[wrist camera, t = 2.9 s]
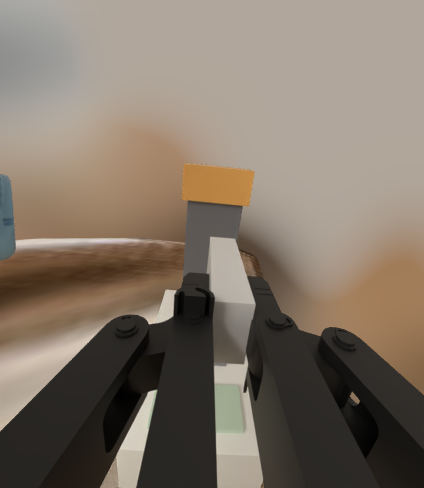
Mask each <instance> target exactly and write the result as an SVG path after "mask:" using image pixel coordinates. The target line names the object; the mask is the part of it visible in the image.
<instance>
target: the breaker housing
mask: <svg viewBox="0 0 424 488" xmlns="http://www.w3.org/2000/svg"><path fill="white" fill-rule="evenodd" d="M176 291H177V290H166V291H165V294H164V298H163V301H162V304H161V307H160V310H159V314H158V317H157V320H156V323H160V322H164V321H166V320H168V319H170V318H171V317H173V312H174V294H175V293H176ZM156 323H155V324H156ZM247 367H248V361H247V356H246V357H245V363H244V364H227V363H214V384H215V419H216V454H217V488H261V485H262V482H263V475H262V469H261V463H260V457H259V451H258V445H257V439H256V433H255V427H254V421H253V415H252V409H251V403H250V397H249V391H248V387H247V392H246V393H243V389H244V382H245V377H246V372H247ZM156 393H157V390H154V391H150V392H148V394H147V397H146V399H145V401H144V403H143V405H142V406H141V408H140V410H139V412H138V414H137V416H136V418H135V420H134V422H133V424H132V426H131V428H130V430H129V432H128V434H127V436H126V438H125V440H124V441H123V443H122V445H121V447H120V449H119V451H118V453H117V455H116V458H117V470H118V482H119V488H136V486H137V481H138V477H139V472H140V467H141V463H142V458H143V453H144V449H145V444H146V440H147V435H148V430H149V426H150V421H151V417H152V412H153V407H154V403H155V398H156Z"/></svg>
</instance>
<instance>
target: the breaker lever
mask: <svg viewBox="0 0 424 488" xmlns="http://www.w3.org/2000/svg"><path fill="white" fill-rule="evenodd" d="M253 178H254V171H252V170H248V169H239V168H230V167H221V166H211V165H202V164H192V163H185V164H184V171H183V189H182V200H188V207H187V222H186V238H185V253H184V269H183V278H184V276H185V275H187V274H188V273H189V272H192V273H205V274H207V265H208V255H209V245H210V237H219V238H231V239H235V240H236V244H237V239H238V233H239V226H240V220H241V213H242V207H243V206H249V203H250V197H251V190H252V184H253Z"/></svg>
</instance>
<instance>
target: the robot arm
mask: <svg viewBox="0 0 424 488" xmlns="http://www.w3.org/2000/svg"><path fill="white" fill-rule="evenodd" d="M15 249H16V243H15V229H14V216H13V202H12V191H11V183H10V179H9V177H7V176H6V175H3V174H0V260H5V259H8V258H10V257H11V256H12V255H13V254H14V252H15ZM246 356H247V361H248V367H247V372H246V377H245V382H244V389H243V393H246V392H247V387H248V391H249V397H250V403H251V409H252V415H253V421H254V427H255V433H256V439H257V445H258V451H259V457H260V463H261V469H262V475H263V481H264V487H265V488H424V395H423V394H422V393H421V392H419V391H418V390H417V389H416V388H415V387H414V386H413V385H412V384H410V383H409V382H408V381H407V380H406V379H405V378H404V377H403V376H401V375H400V374H399V373H398V372H397V371H396V370H395V369H394V368H393V367H391V366H390V365H389V364H388V363H387V362H386V361H385V360H384V359H382V358H381V357H380V356H379V355H378V354H377V353H376V352H375V351H374V350H372V349H371V348H370V347H369V346H368V345H367V344H366V343H364V342H363V341H362V340H361V339H360V338H358V337H357V336H356V335H354V334H353V333H351V332H349V331H346V330H344V329H341V328H336V327H329V328H326V329H324V331H323V332H322V335H321V336H317V335H314V334H310V333H307V332H304V331H301V330H299V329H298V327H297V325H296V324H295V322H294V321H293V320H292V319H291V318H290V317H288V316H287V315H285V314H283V313H281V311H280V308H279V307H278V304H277V302H276V300H275V298H274V296H273V293H272V291H271V289H270V287H269V285H268V283H267V282H266V281H265V280H264V279H263V278H261V277H253V276H247V275H246V272H245V269H244V266H243V263H242V259H241V256H240V253H239V250H238V247H237V244H236V240H235V239H231V238H219V237H210V245H209V255H208V265H207V274H205V273H192V272H189V273H188V274H187V275H185V276H184V278H183V282H182V287H181V288H180V289H179V290H177V291H176V293H175V294H174V312H173V317H171V318H170V319H168V320H166V321H164V322H160V323H156V324H148V322H147V320H146V319H145V318H143V317H141V316H138V315H123V316H120V317H117V318H115V319H113V320H111V321H110V322H109V323H107V324H106V325H105V326H104V327H103V328H102V329H101V330H100V331H99V332H98V333H97V334H96V335H95V336H94V337H93V338H92V339H91V341H90V342H89V343H88V344H87V345H86V346H85V347H84V348H83V349H82V350H81V351H80V352H79V353H78V354H77V355H76V356H75V357H74V358H73V359H72V360H71V361H70V362H69V363H68V364H67V365H66V366H65V367H64V368H63V369H62V370H61V371H60V372H59V373H58V374H57V375H56V376H55V377H54V378H53V379H52V380H51V381H50V382H49V383H48V384H47V385H46V386H45V387H44V388H43V389H42V390H41V391H40V392H39V393H38V394H37V395H36V396H35V397H34V398H33V399H32V400H31V401H30V402H29V403H28V404H27V405H26V406H25V407H24V408H23V409H22V410H21V411H20V412H19V413H18V414H17V415H16V416H15V417H14V418H13V419H12V420H11V421H10V422H9V423H8V424H7V425H6V426H5V427H4V428H3V429H2V430H1V431H0V488H100V486H101V484H102V482H103V480H104V478H105V476H106V474H107V473H108V471H109V469H110V467H111V465H112V463H113V461H114V459H115V457H116V455H117V453H118V451H119V449H120V447H121V445H122V443H123V441H124V440H125V438H126V436H127V434H128V432H129V430H130V428H131V426H132V424H133V422H134V420H135V418H136V416H137V414H138V412H139V410H140V408H141V406H142V405H143V403H144V401H145V399H146V397H147V394H148V392H150V391H154V390H157V393H156V398H155V403H154V407H153V412H152V417H151V421H150V426H149V430H148V435H147V440H146V444H145V449H144V453H143V458H142V463H141V467H140V472H139V477H138V481H137V486H136V488H217V454H216V419H215V384H214V363H227V364H244V363H245V357H246ZM352 392H353V393H354V394H355V395H356V396H357V397H358V399H359V400H360V402H359V404H357V403H355V402H354V401H353V400H352V399H351V397H350V395H351V393H352Z"/></svg>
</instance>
